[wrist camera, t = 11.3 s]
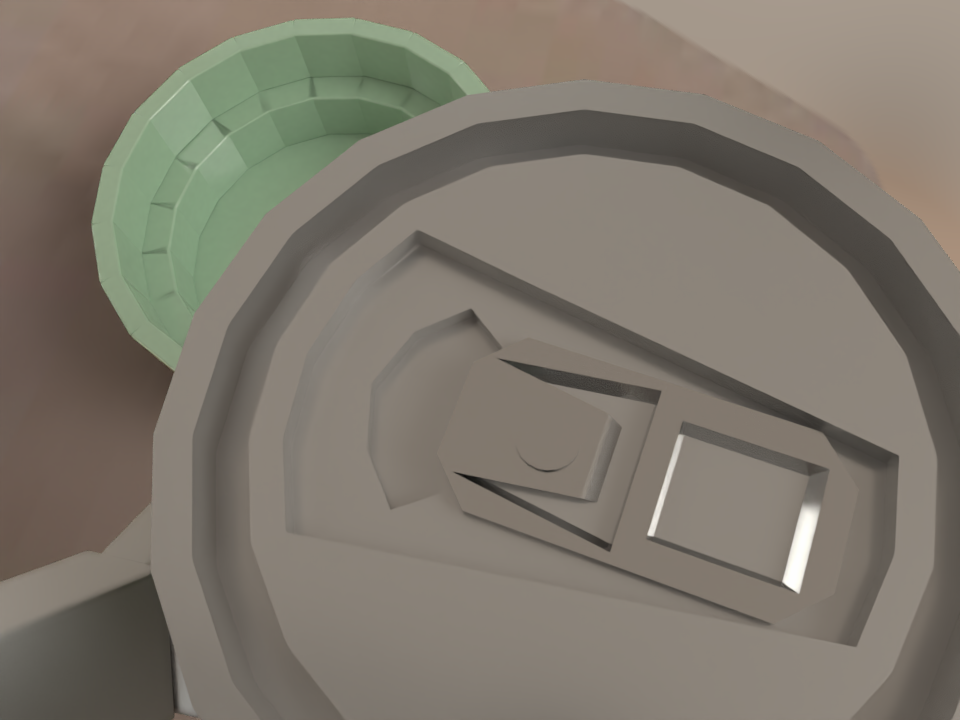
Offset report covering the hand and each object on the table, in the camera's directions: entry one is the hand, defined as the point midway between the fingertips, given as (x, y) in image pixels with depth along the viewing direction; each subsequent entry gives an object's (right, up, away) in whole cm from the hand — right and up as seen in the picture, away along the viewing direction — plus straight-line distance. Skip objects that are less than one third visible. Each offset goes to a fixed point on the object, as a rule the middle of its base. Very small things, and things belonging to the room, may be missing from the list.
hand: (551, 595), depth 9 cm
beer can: (+1, -2, +7) cm, 7 cm away
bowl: (-6, +6, +23) cm, 24 cm away
